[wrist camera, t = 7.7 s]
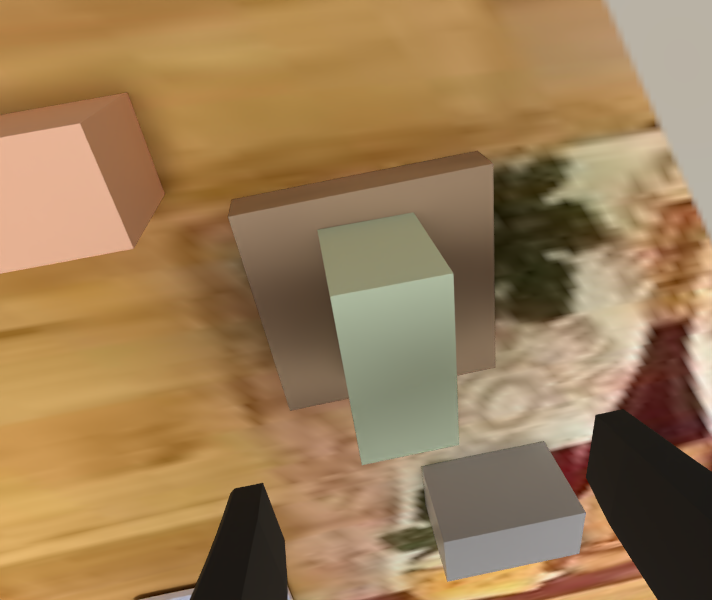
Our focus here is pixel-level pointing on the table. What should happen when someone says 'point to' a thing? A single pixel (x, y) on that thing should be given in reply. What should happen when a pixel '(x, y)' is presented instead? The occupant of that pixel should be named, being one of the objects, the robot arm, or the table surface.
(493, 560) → the grey brick
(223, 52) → the table surface
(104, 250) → the terracotta brick
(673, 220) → the table surface
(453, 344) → the sage brick
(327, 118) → the table surface
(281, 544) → the robot arm
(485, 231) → the walnut slab
